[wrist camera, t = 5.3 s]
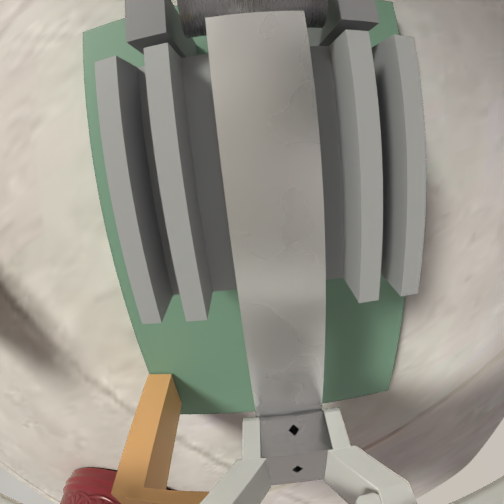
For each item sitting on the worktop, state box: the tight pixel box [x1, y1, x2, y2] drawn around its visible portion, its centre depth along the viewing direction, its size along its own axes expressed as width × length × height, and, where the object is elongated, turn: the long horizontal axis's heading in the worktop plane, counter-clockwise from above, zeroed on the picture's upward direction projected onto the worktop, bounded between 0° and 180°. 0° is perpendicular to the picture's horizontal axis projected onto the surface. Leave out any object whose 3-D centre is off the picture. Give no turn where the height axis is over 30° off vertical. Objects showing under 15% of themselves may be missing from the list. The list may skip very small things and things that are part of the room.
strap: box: [177, 0, 328, 417], centre depth 8 cm, size 16×3×1 cm, turn 6°
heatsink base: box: [83, 0, 426, 414], centre depth 10 cm, size 19×12×6 cm, turn 6°
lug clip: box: [111, 374, 209, 504], centre depth 11 cm, size 2×4×7 cm, turn 96°
